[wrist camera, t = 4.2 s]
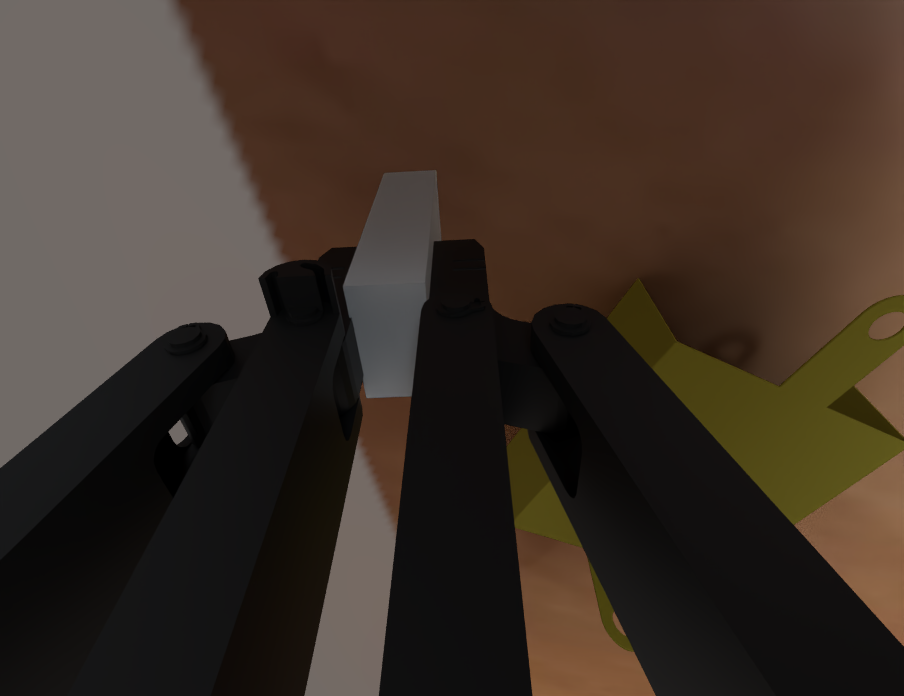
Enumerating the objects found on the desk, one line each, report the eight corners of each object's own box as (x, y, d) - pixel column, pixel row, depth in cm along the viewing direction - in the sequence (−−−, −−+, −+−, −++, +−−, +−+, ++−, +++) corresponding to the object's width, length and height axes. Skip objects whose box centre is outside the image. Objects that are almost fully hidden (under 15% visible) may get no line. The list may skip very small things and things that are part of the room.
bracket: (1221, 479, 13) (779, 687, 21) (976, 318, 20) (706, 526, 28) (784, 245, 9) (446, 606, 18) (653, 138, 16) (449, 440, 24)
